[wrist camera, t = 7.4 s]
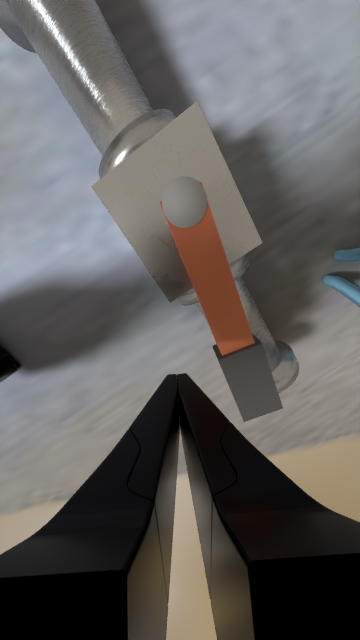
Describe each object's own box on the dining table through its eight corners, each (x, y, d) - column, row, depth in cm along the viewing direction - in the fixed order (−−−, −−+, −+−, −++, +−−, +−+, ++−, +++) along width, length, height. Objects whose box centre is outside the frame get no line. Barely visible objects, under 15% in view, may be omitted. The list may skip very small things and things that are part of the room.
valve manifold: (226, 369, 23) (247, 415, 17) (18, 55, 14) (-121, -124, 7) (279, 340, 22) (324, 377, 16) (93, -20, 13) (8, -310, 6)
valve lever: (154, 207, 11) (147, 190, 8) (196, 186, 11) (204, 161, 8) (230, 390, 15) (244, 421, 12) (262, 379, 15) (282, 408, 12)
